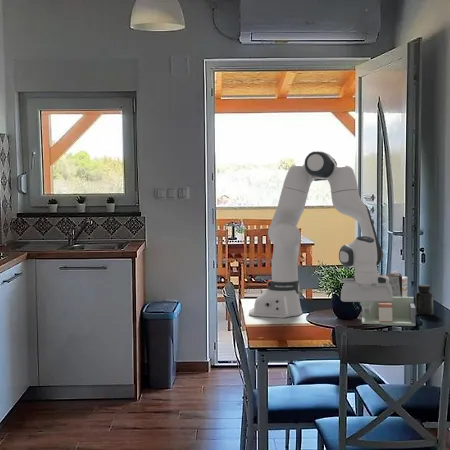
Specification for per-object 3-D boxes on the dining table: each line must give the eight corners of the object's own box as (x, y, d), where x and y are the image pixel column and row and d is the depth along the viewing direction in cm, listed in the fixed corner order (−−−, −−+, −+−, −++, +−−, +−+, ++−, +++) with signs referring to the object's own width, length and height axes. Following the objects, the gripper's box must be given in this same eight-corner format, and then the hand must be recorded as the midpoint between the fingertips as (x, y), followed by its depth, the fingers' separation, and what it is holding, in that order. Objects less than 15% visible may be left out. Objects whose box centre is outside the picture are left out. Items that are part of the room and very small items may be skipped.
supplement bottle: (426, 312, 284) (426, 283, 283) (436, 315, 278) (436, 286, 277) (412, 313, 282) (412, 284, 281) (422, 316, 275) (422, 287, 274)
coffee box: (402, 315, 279) (402, 276, 278) (386, 315, 280) (386, 276, 279) (401, 310, 288) (401, 273, 287) (385, 310, 289) (385, 273, 288)
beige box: (378, 322, 263) (378, 306, 263) (378, 317, 271) (378, 302, 271) (392, 322, 262) (392, 306, 262) (391, 317, 270) (391, 302, 270)
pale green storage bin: (362, 324, 263) (361, 301, 263) (362, 318, 275) (362, 296, 274) (415, 325, 259) (415, 302, 259) (413, 319, 271) (413, 296, 270)
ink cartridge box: (400, 305, 299) (400, 272, 298) (390, 304, 302) (389, 271, 301) (408, 302, 306) (407, 269, 305) (397, 301, 309) (397, 269, 308)
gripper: (339, 279, 266) (340, 314, 267) (392, 279, 262) (393, 314, 263) (339, 276, 273) (340, 310, 274) (392, 276, 269) (392, 311, 270)
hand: (366, 312), depth 269 cm, fingers closed
